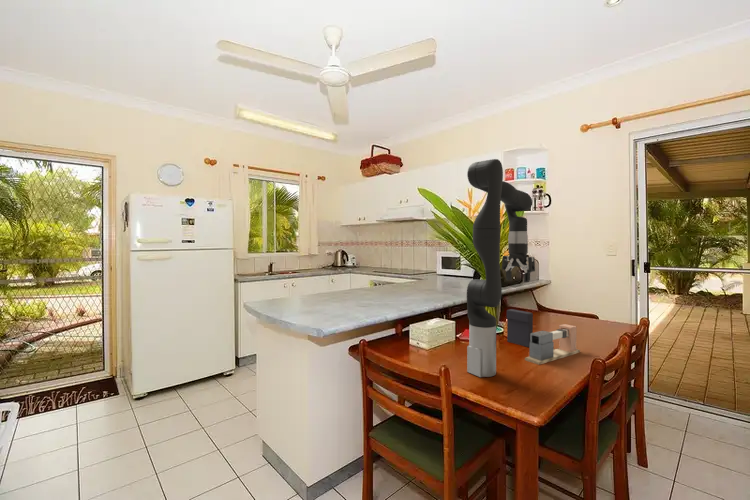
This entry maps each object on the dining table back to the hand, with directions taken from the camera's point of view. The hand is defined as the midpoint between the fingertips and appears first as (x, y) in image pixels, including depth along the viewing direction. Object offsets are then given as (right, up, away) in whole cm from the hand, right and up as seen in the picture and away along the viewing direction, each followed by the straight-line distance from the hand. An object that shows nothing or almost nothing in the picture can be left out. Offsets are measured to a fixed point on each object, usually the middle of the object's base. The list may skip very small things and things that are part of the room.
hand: (517, 281), depth 147 cm
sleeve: (+6, -30, -9) cm, 32 cm away
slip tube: (+15, -23, -3) cm, 28 cm away
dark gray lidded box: (+6, -30, +13) cm, 33 cm away
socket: (+21, -30, +1) cm, 37 cm away
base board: (+13, -30, -4) cm, 33 cm away
